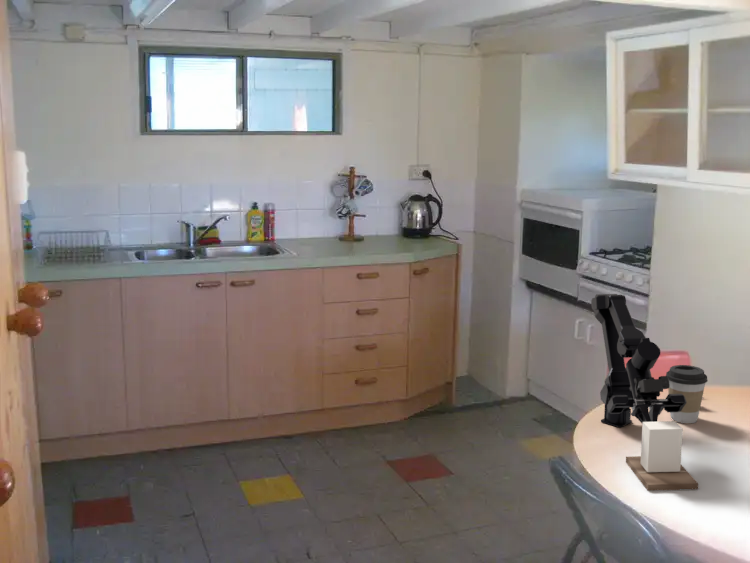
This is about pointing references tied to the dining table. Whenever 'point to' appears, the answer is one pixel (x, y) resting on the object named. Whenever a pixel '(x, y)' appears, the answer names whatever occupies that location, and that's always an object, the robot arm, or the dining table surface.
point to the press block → (661, 446)
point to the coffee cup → (687, 390)
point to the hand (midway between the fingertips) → (653, 434)
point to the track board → (661, 477)
